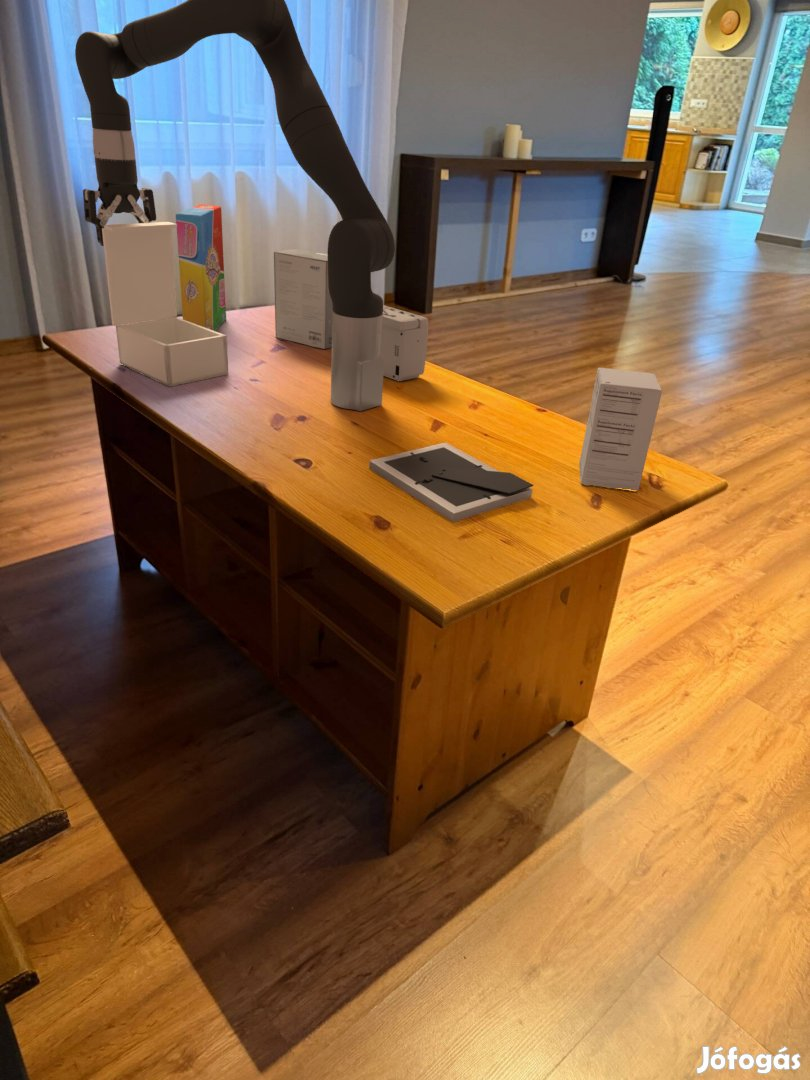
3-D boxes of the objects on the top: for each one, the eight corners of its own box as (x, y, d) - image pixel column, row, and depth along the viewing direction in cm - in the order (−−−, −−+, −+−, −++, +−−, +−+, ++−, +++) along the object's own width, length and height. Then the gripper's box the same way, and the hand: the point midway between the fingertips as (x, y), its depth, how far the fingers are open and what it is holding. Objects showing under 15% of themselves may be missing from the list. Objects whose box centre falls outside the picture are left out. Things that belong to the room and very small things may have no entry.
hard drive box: (344, 344, 183) (347, 257, 174) (325, 350, 178) (326, 261, 168) (294, 331, 190) (293, 247, 180) (273, 337, 184) (272, 250, 175)
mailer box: (228, 374, 158) (226, 335, 154) (169, 387, 148) (165, 346, 144) (178, 353, 168) (175, 316, 164) (120, 364, 158) (115, 325, 154)
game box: (206, 341, 178) (199, 215, 165) (183, 339, 178) (173, 213, 164) (226, 319, 196) (221, 205, 183) (205, 318, 196) (198, 203, 183)
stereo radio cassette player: (425, 378, 165) (434, 282, 155) (399, 385, 159) (406, 286, 149) (359, 355, 177) (362, 265, 167) (332, 360, 171) (334, 268, 161)
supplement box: (639, 493, 120) (664, 390, 112) (579, 486, 121) (600, 383, 113) (633, 469, 128) (656, 372, 120) (578, 462, 129) (597, 365, 121)
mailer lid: (178, 224, 153) (156, 217, 157) (110, 227, 143) (89, 220, 148) (183, 319, 163) (163, 310, 167) (121, 328, 153) (100, 319, 157)
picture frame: (530, 501, 117) (444, 453, 131) (533, 484, 115) (445, 438, 129) (452, 526, 108) (368, 472, 122) (454, 508, 107) (369, 456, 120)
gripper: (90, 157, 141) (101, 250, 148) (158, 158, 150) (165, 245, 158) (70, 153, 145) (81, 244, 153) (137, 154, 154) (145, 239, 162)
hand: (124, 244), depth 155 cm, fingers open, 8 cm apart
